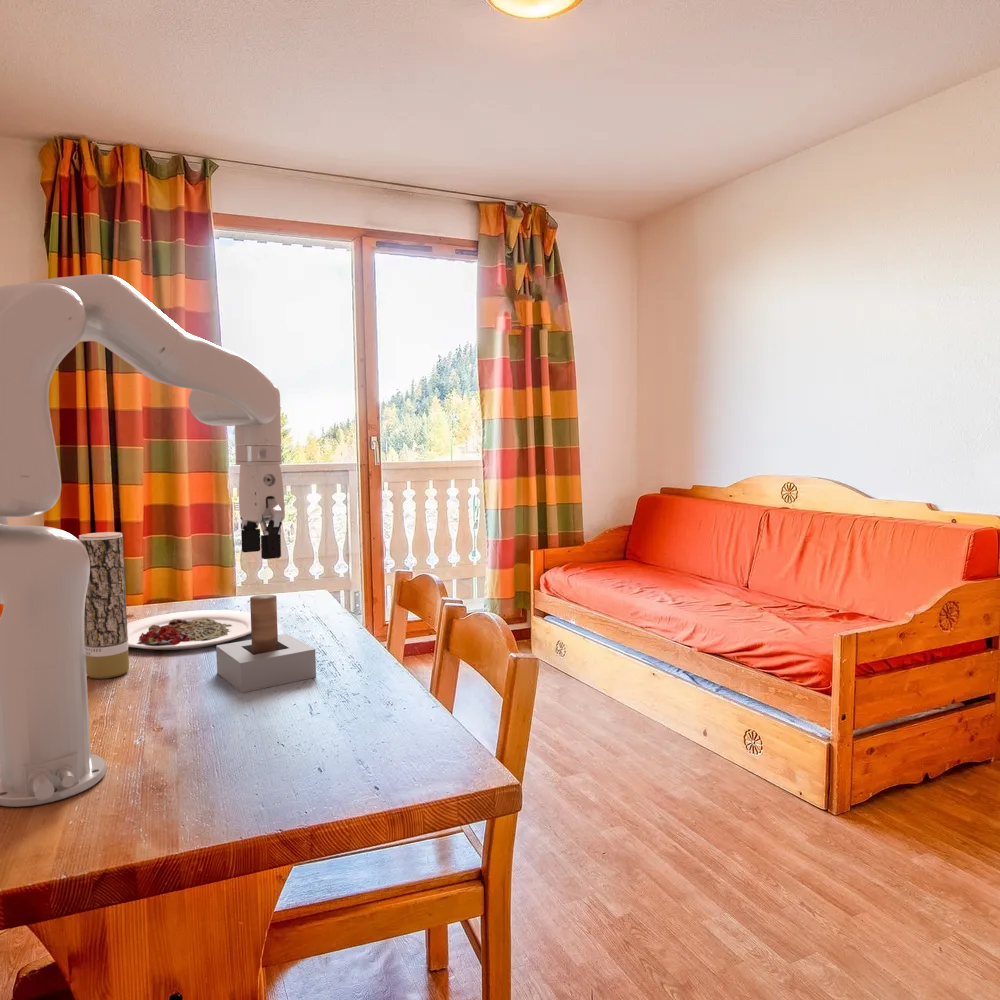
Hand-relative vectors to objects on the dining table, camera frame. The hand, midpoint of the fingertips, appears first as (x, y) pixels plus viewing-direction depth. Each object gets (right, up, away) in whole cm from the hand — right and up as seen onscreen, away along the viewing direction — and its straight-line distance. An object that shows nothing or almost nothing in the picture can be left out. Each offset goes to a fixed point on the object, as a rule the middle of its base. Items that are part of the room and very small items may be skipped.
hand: (260, 554), depth 131 cm
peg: (0, -21, +2) cm, 22 cm away
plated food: (-25, -20, +30) cm, 43 cm away
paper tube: (-28, -22, +3) cm, 36 cm away
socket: (0, -21, +2) cm, 22 cm away
